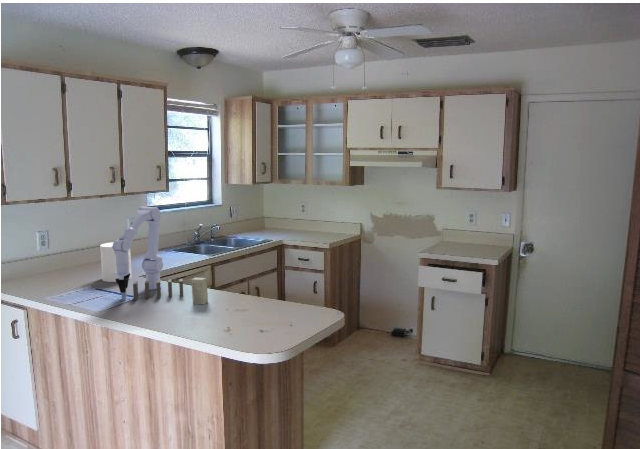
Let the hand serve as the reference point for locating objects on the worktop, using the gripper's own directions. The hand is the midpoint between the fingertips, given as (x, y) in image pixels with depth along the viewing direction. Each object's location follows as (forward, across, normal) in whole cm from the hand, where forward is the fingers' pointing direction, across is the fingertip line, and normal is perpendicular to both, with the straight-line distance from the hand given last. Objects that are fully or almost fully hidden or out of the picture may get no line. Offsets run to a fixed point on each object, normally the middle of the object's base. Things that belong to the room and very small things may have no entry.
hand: (124, 290), depth 247 cm
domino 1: (+4, 0, 0) cm, 4 cm away
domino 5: (+4, 0, +22) cm, 22 cm away
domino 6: (+4, 0, +28) cm, 28 cm away
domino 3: (+4, 0, +11) cm, 12 cm away
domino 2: (+4, 0, +6) cm, 7 cm away
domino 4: (+4, 0, +16) cm, 17 cm away
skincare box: (+5, +16, +36) cm, 40 cm away
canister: (+5, -45, -10) cm, 46 cm away
